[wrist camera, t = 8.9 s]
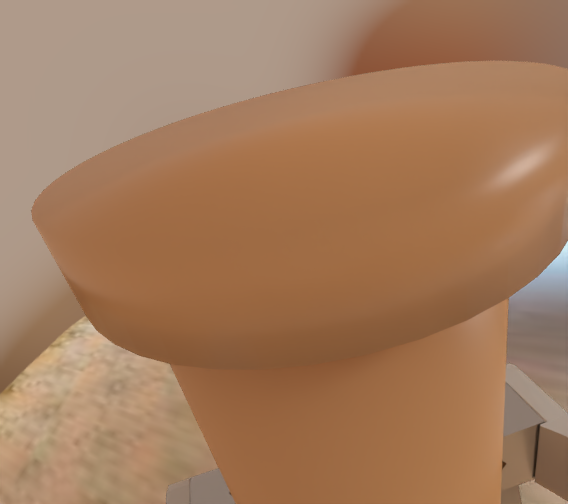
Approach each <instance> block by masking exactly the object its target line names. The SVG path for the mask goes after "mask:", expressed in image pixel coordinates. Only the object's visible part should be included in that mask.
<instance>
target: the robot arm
mask: <svg viewBox="0 0 568 504" xmlns="http://www.w3.org/2000/svg"><path fill="white" fill-rule="evenodd" d="M533 479H535V482H536V483H538V484H540V485H541V486H543V487H545V488H547V489H548V490H550V491H552V492H553V493H555V494H557V495H558V496H560V497H562V498H563V499H565V500H567V501H568V413H567V412H566V411H565V410H563V409H562V408H561V407H560V406H559V405H558V404H557V403H556V402H555V401H554V400H553V399H551V398H550V397H549V396H548V395H547V394H546V393H545V392H544V391H543V390H542V389H541V388H539V387H538V386H537V385H536V384H535V383H534V382H533V381H532V380H531V379H530V378H529V377H527V376H526V375H525V374H524V373H523V372H522V371H521V370H520V369H519V368H518V367H517V366H515V365H513V364H511V363H508V364H506V378H505V403H504V429H503V455H502V480H501V491H503V490H505V489H508V488H511V487H514V486H517V485H519V484H522V483H525V482H528V481H531V480H533ZM166 504H236V503H235V501H234V499H233V497H232V495H231V493H230V491H229V489H228V486H227V484H226V482H225V480H224V478H223V476H222V474H221V472H220V469H219V468H218V469H215V470H212V471H209V472H206V473H203V474H200V475H197V476H194V477H191V478H188V479H185V480H182V481H179V482H177V483H174V484H171V485H169V486H168V490H167V493H166Z"/></svg>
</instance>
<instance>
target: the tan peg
mask: <svg viewBox="0 0 568 504" xmlns="http://www.w3.org/2000/svg"><path fill="white" fill-rule="evenodd" d="M31 212H32V219H33V221H34V223H35V225H36V227H37V229H38V230H39V232H40V234H41V236H42V238H43V239H44V241H45V243H46V245H47V247H48V249H49V250H50V252H51V254H52V256H53V257H54V259H55V261H56V263H57V265H58V266H59V268H60V270H61V272H62V274H63V275H64V277H65V279H66V281H67V283H68V284H69V286H70V288H71V290H72V292H73V293H74V295H75V297H76V299H77V301H78V302H79V304H80V306H81V308H82V310H83V311H84V313H85V315H86V317H87V318H88V319H89V321H90V322H91V323H92V325H93V326H94V327H95V329H96V330H97V331H98V332H99V333H101V334H102V335H103V336H104V337H106V338H107V339H108V340H110V341H111V342H112V343H114V344H115V345H117V346H120V347H122V348H124V349H126V350H128V351H131V352H133V353H135V354H137V355H139V356H143V357H147V358H150V359H154V360H158V361H162V362H166V363H169V364H170V365H171V367H172V370H173V372H174V374H175V376H176V378H177V380H178V382H179V384H180V387H181V389H182V391H183V393H184V395H185V397H186V399H187V401H188V404H189V406H190V408H191V410H192V412H193V414H194V416H195V418H196V421H197V423H198V425H199V427H200V429H201V431H202V433H203V435H204V438H205V440H206V442H207V444H208V446H209V448H210V450H211V452H212V455H213V457H214V459H215V461H216V463H217V465H218V467H219V469H220V472H221V474H222V476H223V478H224V480H225V482H226V484H227V486H228V489H229V491H230V493H231V495H232V497H233V499H234V501H235V503H236V504H501V480H502V455H503V429H504V403H505V378H506V352H507V327H508V301H509V297H510V296H512V295H513V294H515V293H516V292H517V291H519V290H520V289H521V288H523V287H524V286H525V285H527V284H528V283H530V282H531V281H532V280H534V279H535V278H536V277H538V276H539V275H540V274H541V273H542V272H543V271H544V270H545V269H546V268H547V267H548V266H549V264H550V263H551V262H552V261H553V260H554V259H555V258H556V257H557V256H558V255H559V254H560V253H561V251H562V249H563V248H564V246H565V244H566V243H567V241H568V69H566V68H562V67H558V66H553V65H549V64H541V63H533V62H520V61H518V62H517V61H473V62H456V63H442V64H432V65H423V66H414V67H406V68H398V69H392V70H385V71H378V72H372V73H366V74H360V75H355V76H350V77H345V78H338V79H334V80H328V81H324V82H319V83H314V84H309V85H305V86H300V87H296V88H292V89H287V90H284V91H279V92H275V93H271V94H268V95H263V96H260V97H256V98H252V99H248V100H245V101H241V102H238V103H234V104H231V105H227V106H224V107H221V108H217V109H214V110H211V111H208V112H204V113H201V114H198V115H195V116H192V117H189V118H186V119H183V120H180V121H178V122H175V123H172V124H169V125H166V126H163V127H161V128H158V129H155V130H153V131H150V132H148V133H145V134H143V135H140V136H138V137H135V138H133V139H130V140H128V141H126V142H123V143H121V144H119V145H117V146H114V147H112V148H110V149H108V150H106V151H104V152H102V153H100V154H98V155H96V156H94V157H92V158H90V159H88V160H86V161H84V162H83V163H81V164H79V165H78V166H76V167H74V168H73V169H71V170H69V171H68V172H66V173H65V174H63V175H62V176H60V177H59V178H58V179H56V180H55V181H54V182H52V183H51V184H50V185H49V186H48V187H47V188H46V189H44V190H43V192H42V193H41V194H40V195H39V196H38V198H37V199H36V200H35V202H34V205H33V207H32V210H31Z"/></svg>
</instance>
